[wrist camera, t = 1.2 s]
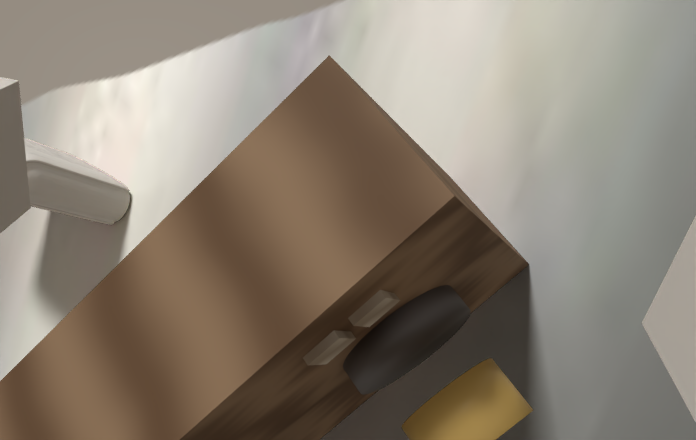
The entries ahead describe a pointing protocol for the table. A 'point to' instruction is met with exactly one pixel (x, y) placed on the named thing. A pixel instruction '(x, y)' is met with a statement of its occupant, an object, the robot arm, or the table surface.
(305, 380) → the console
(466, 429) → the ochre button
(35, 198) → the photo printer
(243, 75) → the table surface
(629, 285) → the table surface
